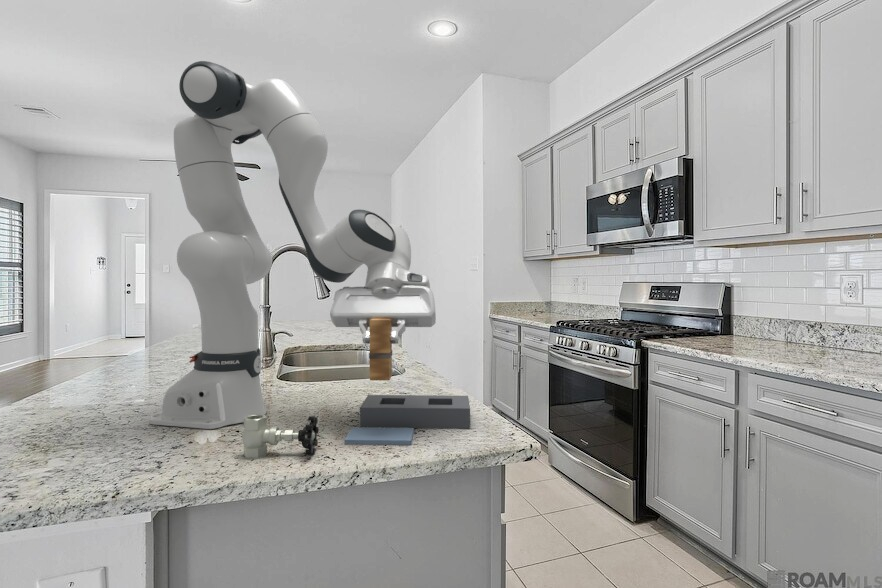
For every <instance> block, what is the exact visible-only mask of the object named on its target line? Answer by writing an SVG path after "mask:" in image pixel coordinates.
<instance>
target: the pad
mask: <svg viewBox="0 0 882 588" xmlns="http://www.w3.org/2000/svg"><path fill="white" fill-rule="evenodd" d="M414 433H415V428H373V427H360V426H358V427H356V426H355V427H351V429H350V430H349V432H348V434H347V435H346V436H345V438H344V443H343V444H344V445H375V446H376V445H379V446H380V445H383V446H384V445H387V446H388V445H389V446H391V445H392V446H394V445H395V446H403V445H404V446H411V445H412V443H413V438H414Z"/></svg>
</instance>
